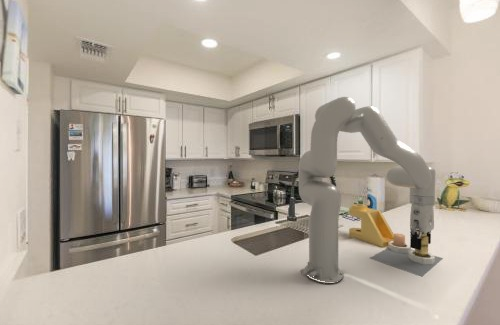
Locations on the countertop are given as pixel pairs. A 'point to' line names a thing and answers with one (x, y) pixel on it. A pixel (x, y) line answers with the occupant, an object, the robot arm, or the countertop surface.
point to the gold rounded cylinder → (423, 246)
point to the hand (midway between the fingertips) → (420, 245)
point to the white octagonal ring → (429, 260)
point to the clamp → (371, 226)
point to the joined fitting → (399, 244)
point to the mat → (403, 262)
